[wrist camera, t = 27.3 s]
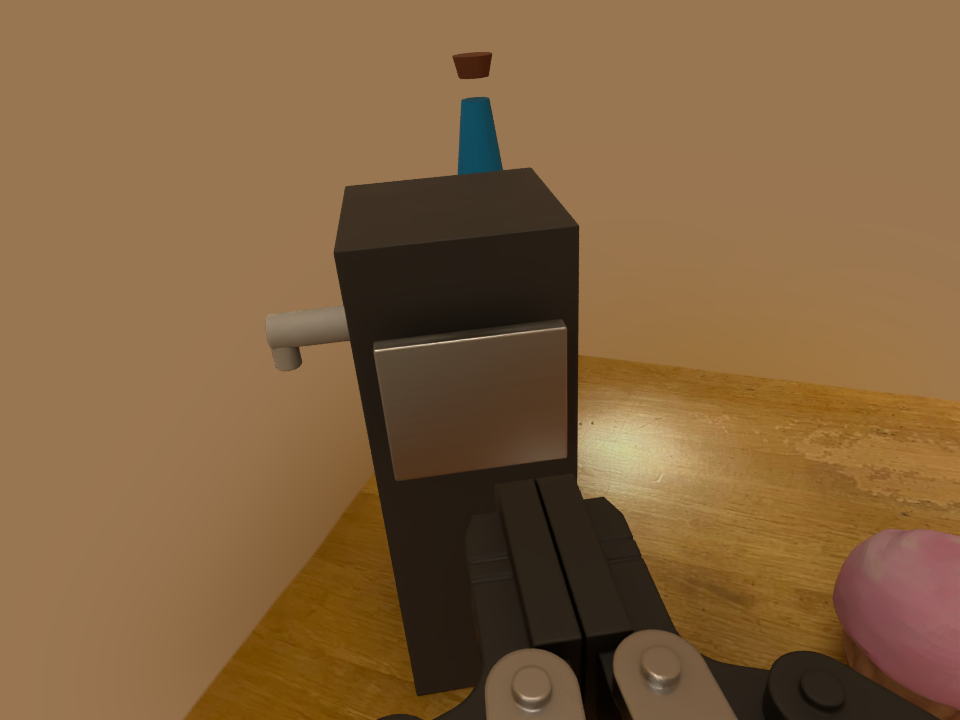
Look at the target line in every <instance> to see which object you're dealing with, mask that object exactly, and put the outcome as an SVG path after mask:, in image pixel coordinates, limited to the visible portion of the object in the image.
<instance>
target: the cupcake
mask: <svg viewBox="0 0 960 720" xmlns="http://www.w3.org/2000/svg"><path fill="white" fill-rule="evenodd" d="M833 604H834V608H835V611H836V613H837V616H838V618H839V621H840V623H841V625H842V627H843V646H844V651H845V655H846V658H847V661H848V663H849V666H850V668H852V669H853V670H855V671H857V672H859V673H860V674H862V675H864V676H866V677H867V678H869V679H871V680H873V681H874V682H876V683H878V684H880V685H881V686H883V687H885V688H887V689H888V690H890V691H892V692H894V693H895V694H897V695H899V696H901V697H902V698H904V699H906V700H908V701H909V702H911V703H913V704H915V705H916V706H918V707H920V708H922V709H923V710H925V711H927V712H929V713H931V714H932V715H934V716H936V717H938V718H939V719H941V720H960V536H957V535H952V534H948V533H943V532H939V531H933V530H924V529H919V530H910V531H907V530H899V529H886V530H883V531H881V532H878V533H877V534H875V535H873V536H872V537H870V538H868V539H867V540H865V541H864V542H862V543H861V544H859V545H857V546H856V547H855V548H854V549H853V551H852V552H851V553H850V555H849V556H848V558H847V559H846V560H845V562H844V564H843V566H842V568H841V570H840V573H839V575H838V577H837V580H836V584H835V588H834V594H833Z"/></svg>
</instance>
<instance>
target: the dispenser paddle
mask: <svg viewBox="0 0 960 720" xmlns="http://www.w3.org/2000/svg"><path fill="white" fill-rule="evenodd" d="M373 352H374V358H375V364H376V370H377V376H378V382H379V387H380V393H381V399H382V405H383V411H384V417H385V423H386V429H387V435H388V440H389V446H390V452H391V458H392V464H393V470H394V476H395V480H396V481H402V480H410V479H417V478H424V477H431V476H439V475H446V474H453V473H461V472H468V471H475V470H482V469H490V468H497V467H504V466H512V465H519V464H526V463H533V462H541V461H548V460H555V459H563V458H567V328H566V326H565V324H564V322H563V320H562V319H556V320H548V321H540V322H531V323H523V324H515V325H506V326H498V327H490V328H481V329H473V330H465V331H457V332H448V333H440V334H432V335H423V336H415V337H407V338H398V339H390V340H382V341H375V342H374V351H373Z"/></svg>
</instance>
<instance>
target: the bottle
mask: <svg viewBox="0 0 960 720" xmlns="http://www.w3.org/2000/svg"><path fill="white" fill-rule="evenodd" d="M491 58H492V53H490V52H475V53H464V54H458V55H454V56H453V60H454V63H455V66H456V70H457V73H458V76H459V78H460V79H476V78H483V77H487V76H489V71H490V64H491ZM458 160H459V161H458V175H462V174H472V173H482V172H492V171H502V170H503V168H502V163H501V158H500V152H499V147H498V142H497V137H496V131H495V126H494V120H493V115H492V110H491V105H490V99H489V98H487V97H473V98H466V99H463V100H462V101H461V118H460V139H459V158H458Z"/></svg>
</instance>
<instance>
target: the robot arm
mask: <svg viewBox="0 0 960 720" xmlns="http://www.w3.org/2000/svg"><path fill="white" fill-rule="evenodd" d="M495 501H496V512H492V513H484V514H477V515H472V517H471V520H470V522H469V525H468V528H467V531H466V533H465V536H464V540H465V550H466V560H467V570H468V580H469V590H470V597H471V604H472V611H473V617H474V625H475V632H476V638H477V645H478V652H479V659H480V666H481V674H480V678H479V680H478V682H477V684H476V686H475V688H474V689H473V691H472V692H471V694H470V695H469V696H468V697H467V698H466V699H465V700H464V701H463V702H462V703H460V704H459V705H458V706H456V707H455V708H453V709H452V710H450V711H448V712H446V713H444V714H442V715H440V716H439V717H437V718H435V719H433V720H941V719H939V718H938V717H936V716H934V715H932V714H931V713H929V712H927V711H925V710H923V709H922V708H920V707H918V706H916V705H915V704H913V703H911V702H909V701H908V700H906V699H904V698H902V697H901V696H899V695H897V694H895V693H894V692H892V691H890V690H888V689H887V688H885V687H883V686H881V685H880V684H878V683H876V682H874V681H873V680H871V679H869V678H867V677H866V676H864V675H862V674H860V673H859V672H857V671H855V670H853V669H852V668H850V667H848V666H846V665H845V664H843V663H841V662H839V661H837V660H835V659H833V658H831V657H829V656H826V655H824V654H820V653H816V652H811V651H795V652H790V653H787V654H785V655H782V656H781V657H780V658H778V659H777V660H776V661H775V662H774V663H773V665H772V667H771V669H770V670H765V669H758V668H751V667H745V666H738V665H731V664H727V663H722V662H719V661H716V660H713V659H711V658H708V657H706V656H704V655H702V654H701V653H699V652H698V651H697V650H696V649H695V647H694V646H693V645H691V644H690V643H689V642H688V641H686V640H685V639H683V638H682V637H681V636H680V635H679V633H678V632H677V631H676V629H675V627H674V625H673V623H672V621H671V619H670V617H669V614H668V612H667V610H666V608H665V606H664V603H663V601H662V599H661V597H660V595H659V592H658V590H657V588H656V586H655V584H654V581H653V579H652V577H651V575H650V573H649V571H648V568H647V566H646V564H645V562H644V560H643V559H642V558H641V553H640V551H639V549H638V546H637V544H636V542H635V540H633V535H632V533H631V531H630V529H629V527H628V524H627V522H626V520H625V518H624V516H623V514H622V513H621V512H620V511H619V510H618V509H616V508H615V507H614V506H613V505H612V504H611V503H610V502H609V501H608V500H607V499H605V498H604V497H599V498H591V499H584V500H583V497H582V495H581V492H580V490H579V487H578V485H577V482H576V480H575V477H574V476H573V474H565V475H557V476H550V477H542V478H535V479H534V481H533V480H532V479H529V480H522V481H514V482H507V483H499V484H495ZM377 720H422V719H420V718H418V717H416V716H412V715H408V714H394V715H388V716H385V717H382V718H380V719H377Z"/></svg>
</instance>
